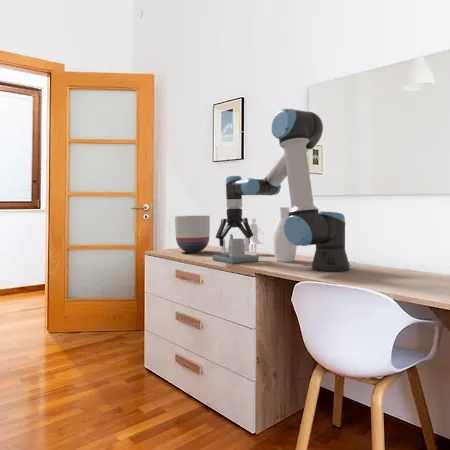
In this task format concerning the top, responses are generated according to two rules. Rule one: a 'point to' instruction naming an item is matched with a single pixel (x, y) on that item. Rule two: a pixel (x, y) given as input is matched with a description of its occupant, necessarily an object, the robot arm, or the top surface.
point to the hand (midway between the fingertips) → (235, 252)
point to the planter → (192, 232)
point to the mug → (236, 247)
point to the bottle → (283, 240)
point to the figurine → (254, 235)
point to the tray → (227, 258)
